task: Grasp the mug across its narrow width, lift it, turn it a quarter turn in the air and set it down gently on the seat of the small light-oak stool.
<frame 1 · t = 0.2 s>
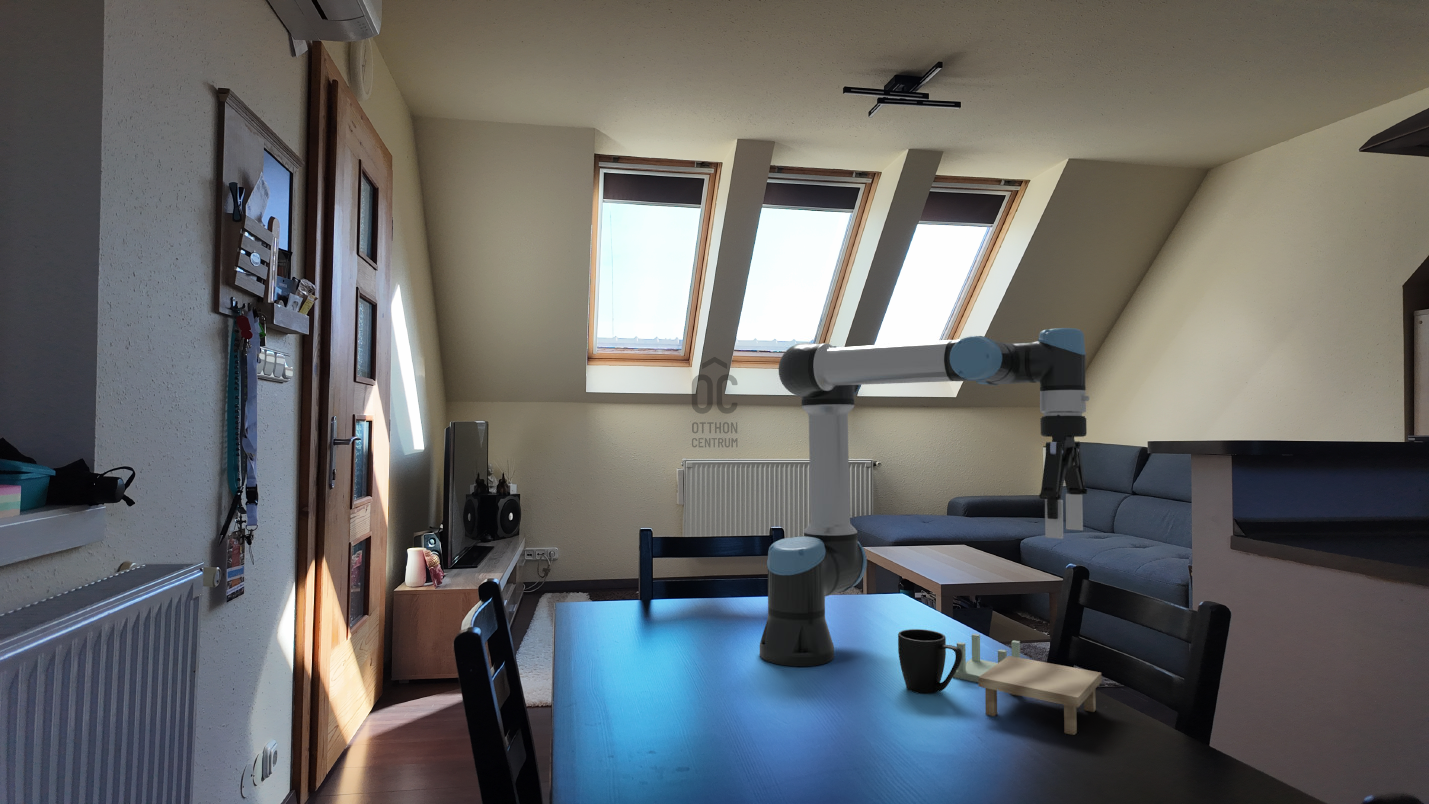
hand: (1064, 533, 136), 28 cm above the table, fingers open, 13 cm apart
oak stool: (1041, 711, 124), on the table
mug: (930, 692, 134), on the table
upturned footstool: (988, 675, 143), on the table
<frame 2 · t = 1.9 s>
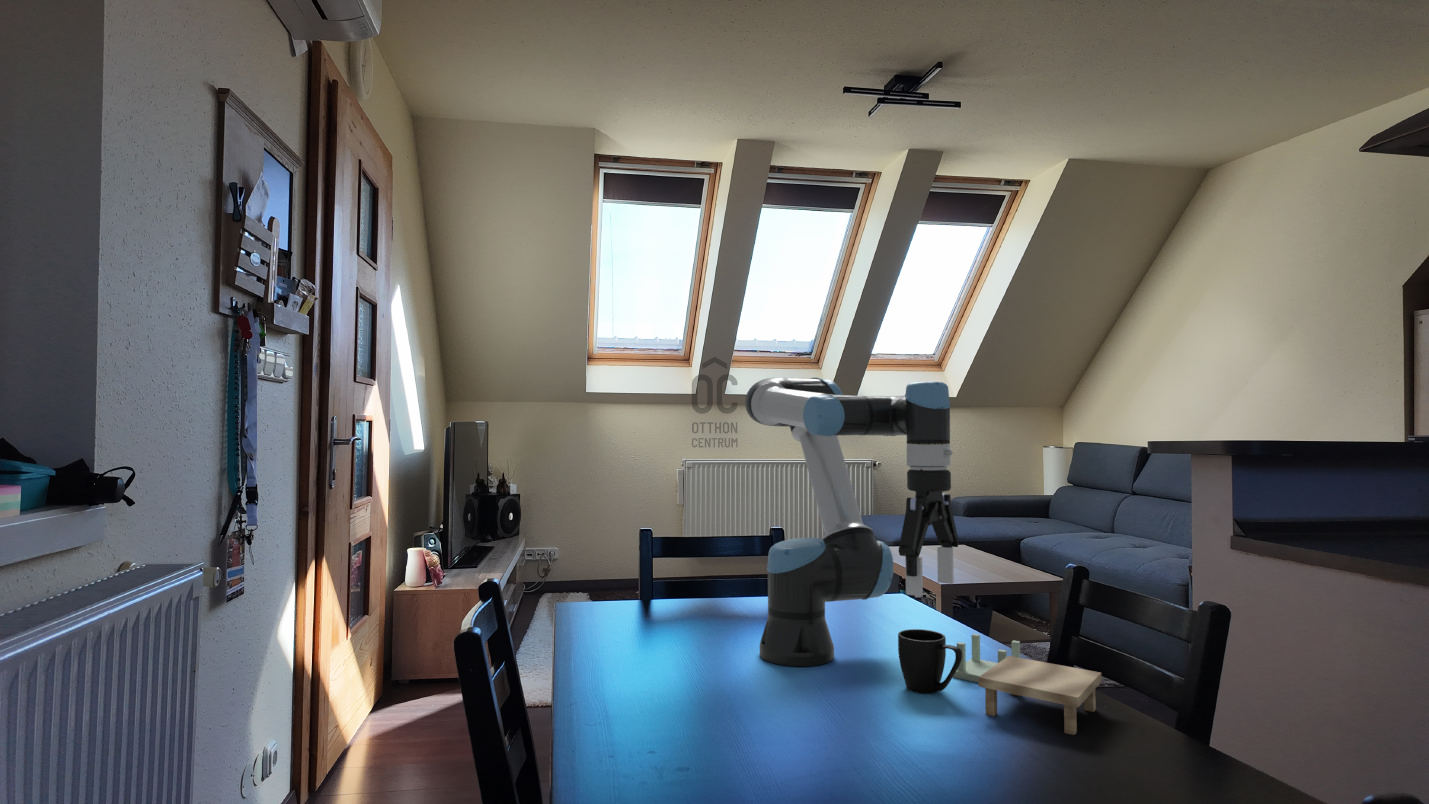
hand: (930, 588, 134), 18 cm above the table, fingers open, 13 cm apart
nothing on the table moved.
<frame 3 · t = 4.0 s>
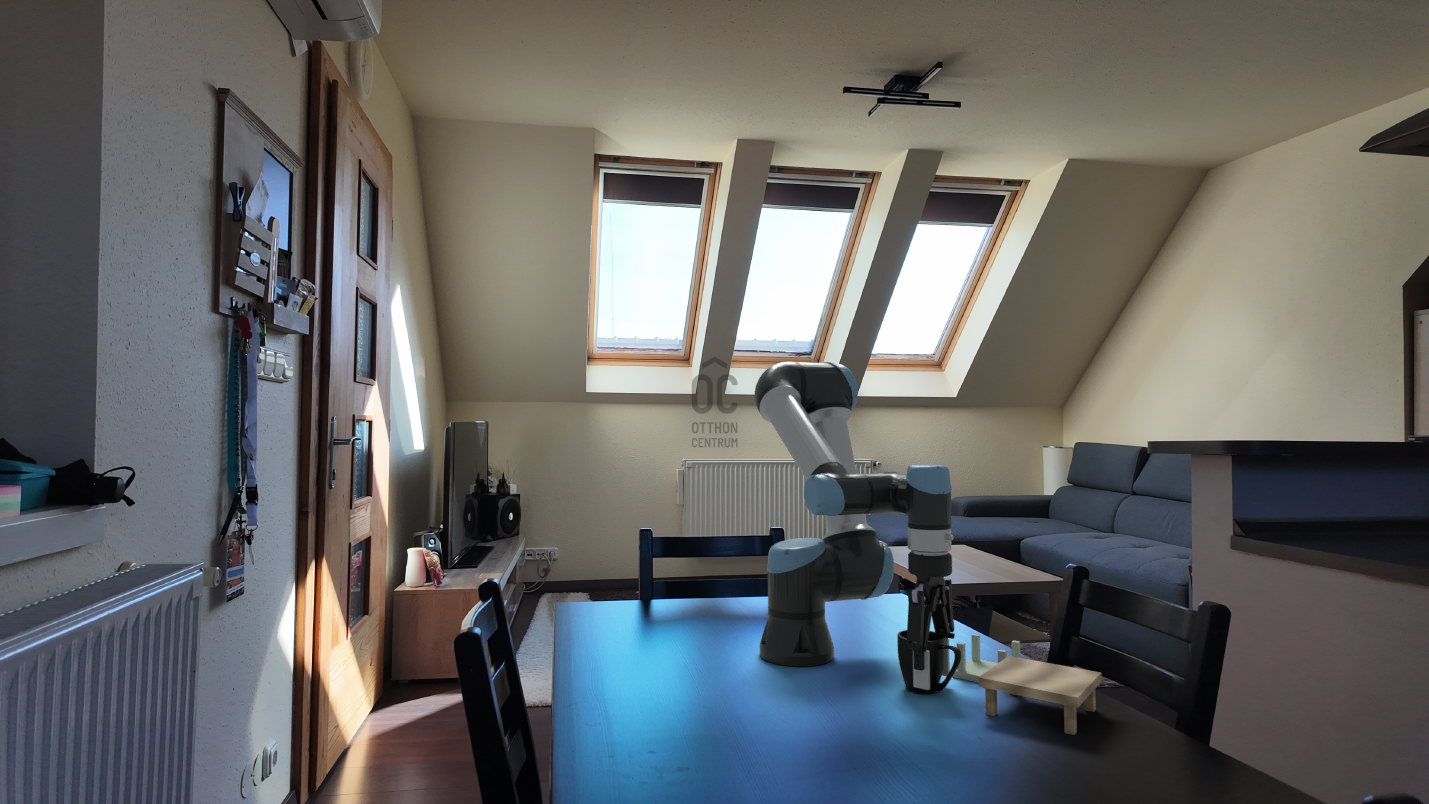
hand: (931, 681, 134), 2 cm above the table, fingers closed on mug, 8 cm apart
mug: (930, 693, 134), on the table, touching gripper
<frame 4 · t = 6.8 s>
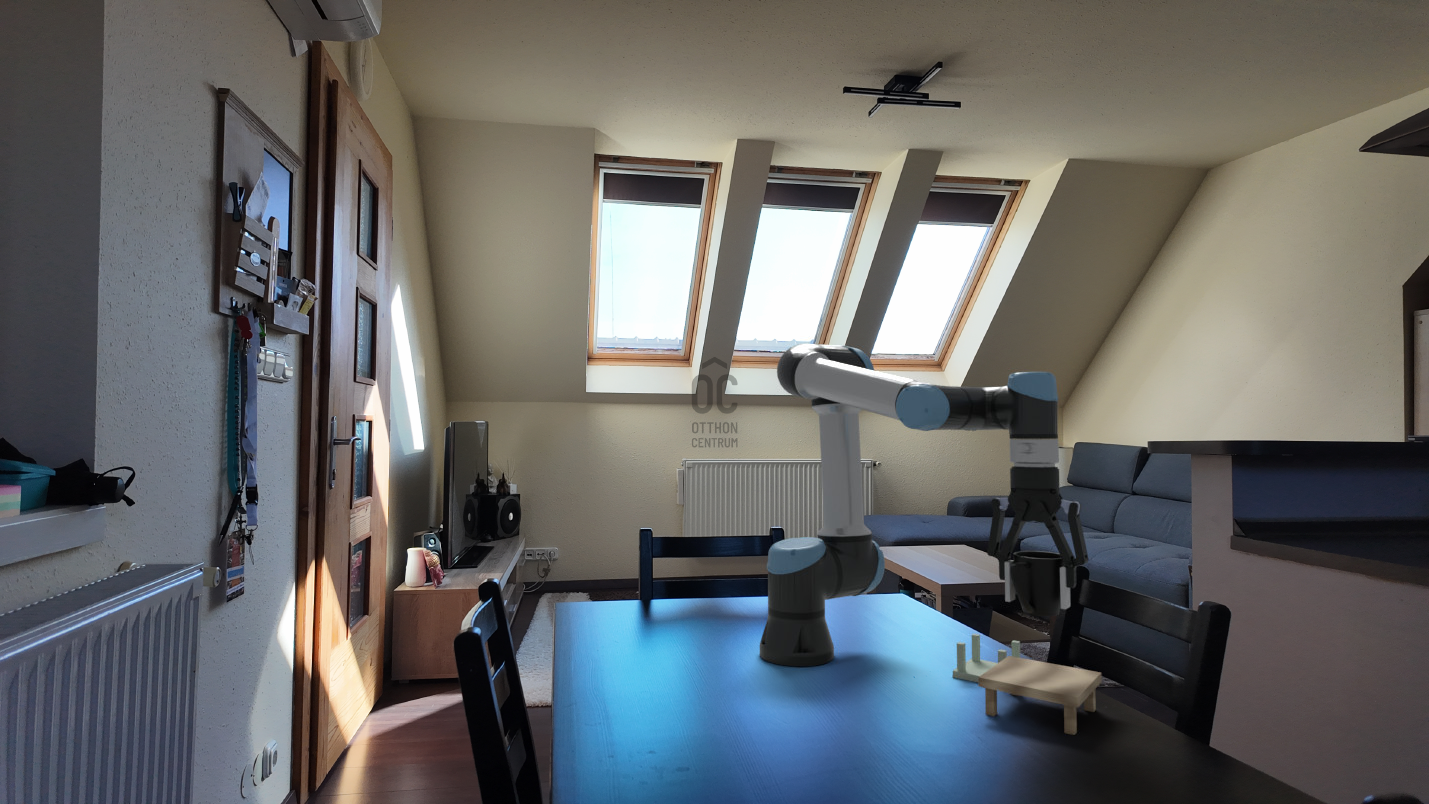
hand: (1037, 603, 125), 18 cm above the table, fingers closed on mug, 8 cm apart
mug: (1034, 615, 125), point 16 cm above the table, touching gripper
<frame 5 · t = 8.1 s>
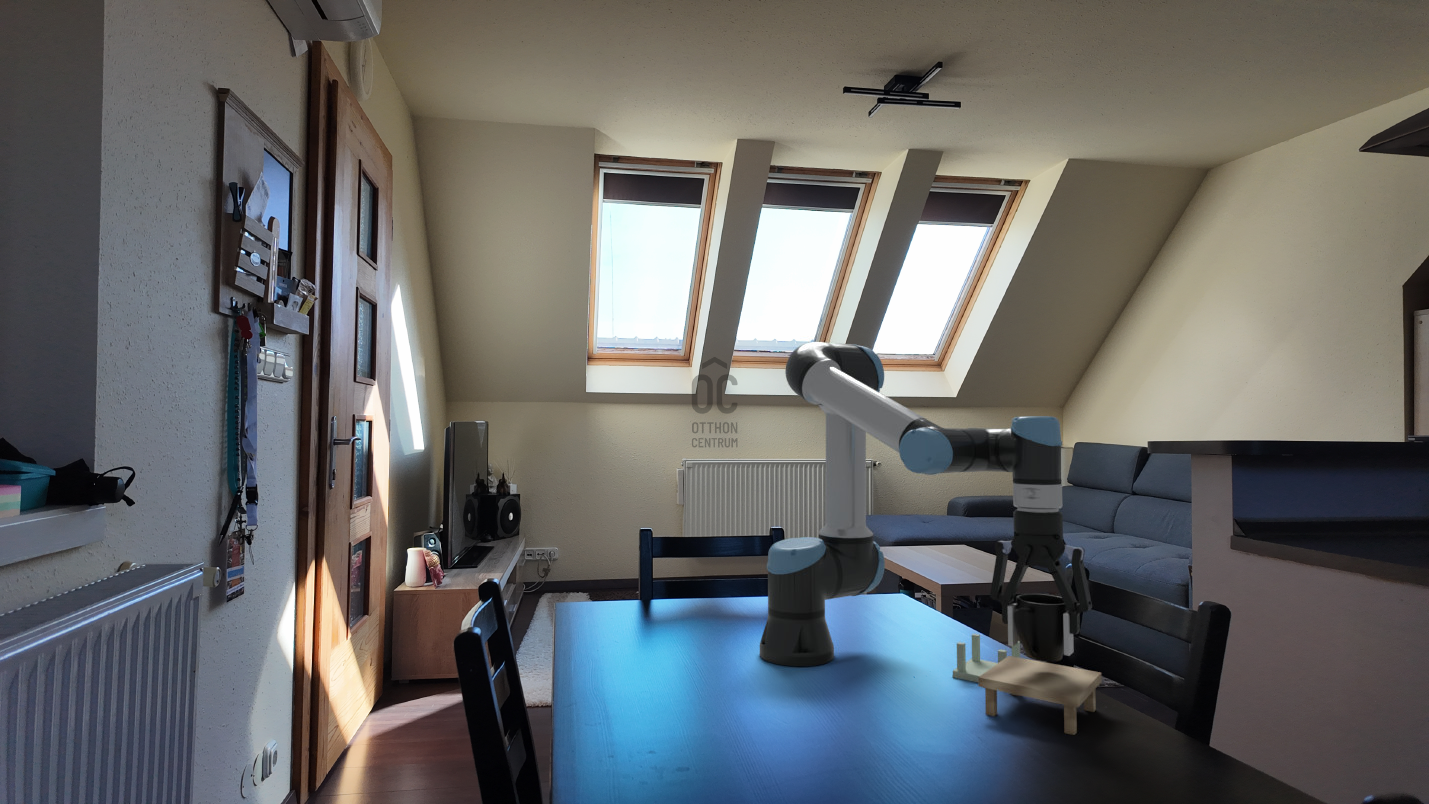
hand: (1040, 648, 125), 10 cm above the table, fingers closed on mug, 8 cm apart
mug: (1037, 659, 125), point 8 cm above the table, touching gripper
when the fingers open (9 cm above the table, at t = 9.3 s): mug stays where it is, resting on oak stool.
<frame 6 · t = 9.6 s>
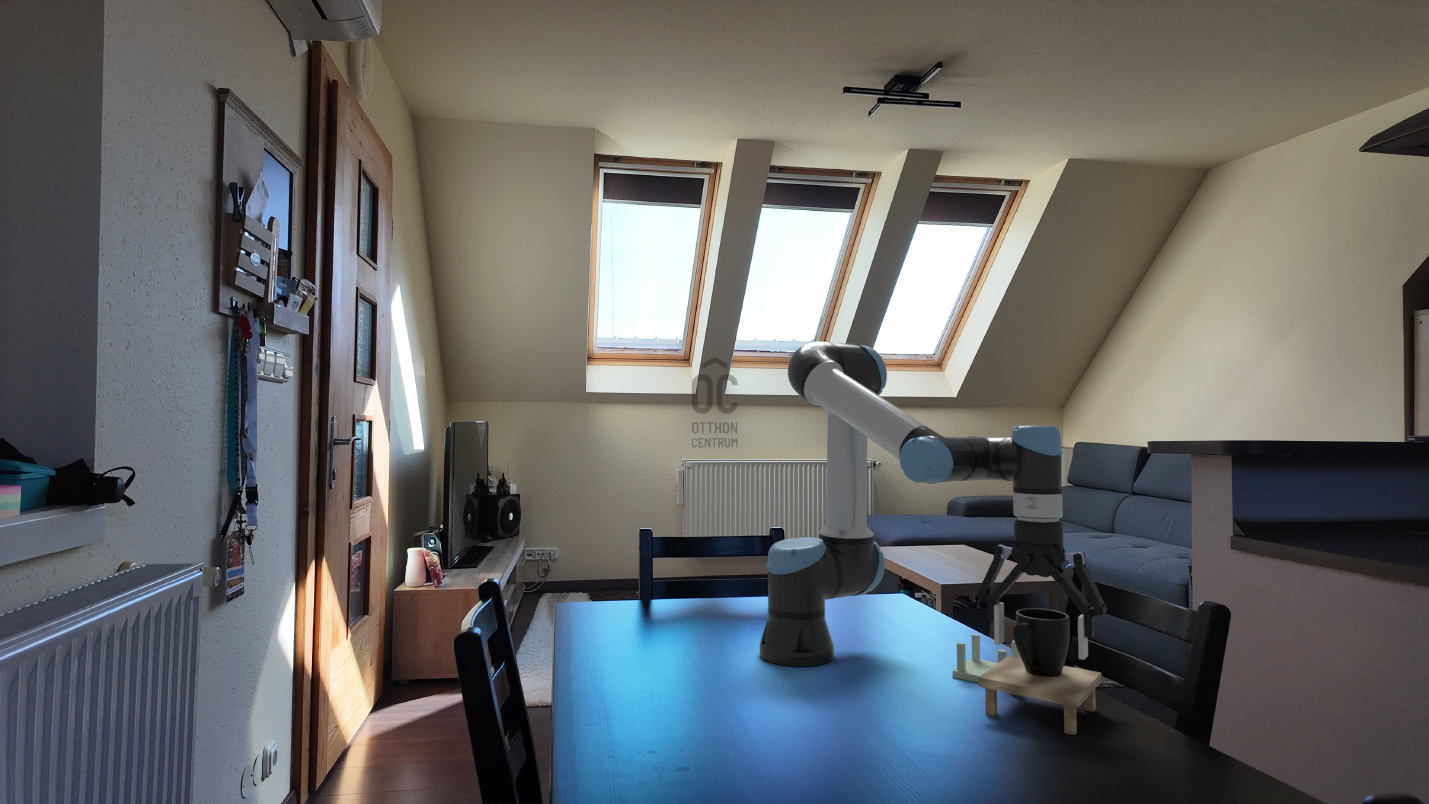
hand: (1040, 650, 125), 10 cm above the table, fingers open, 12 cm apart
mug: (1036, 675, 125), point 6 cm above the table, touching oak stool
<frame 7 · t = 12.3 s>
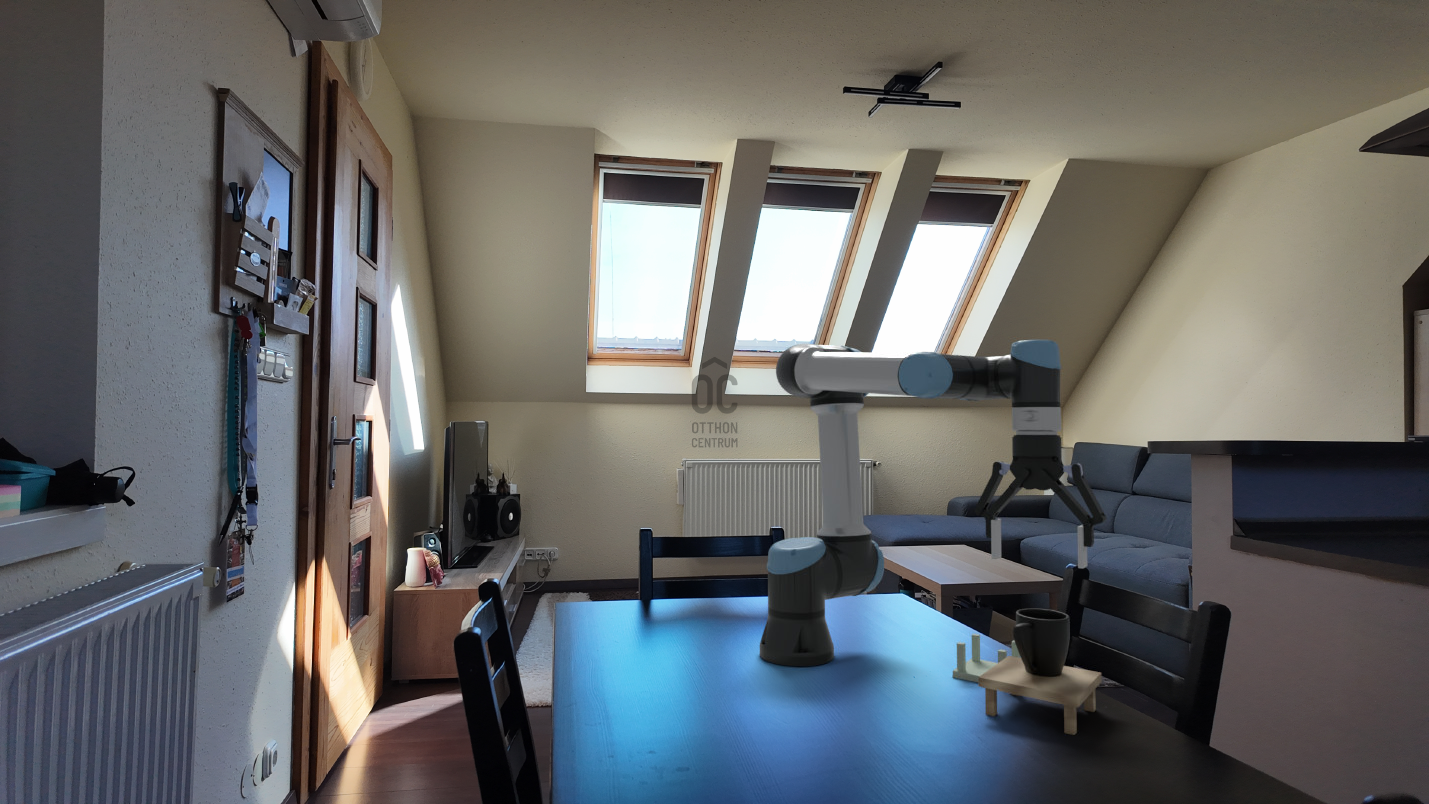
hand: (1038, 562, 125), 24 cm above the table, fingers open, 13 cm apart
nothing on the table moved.
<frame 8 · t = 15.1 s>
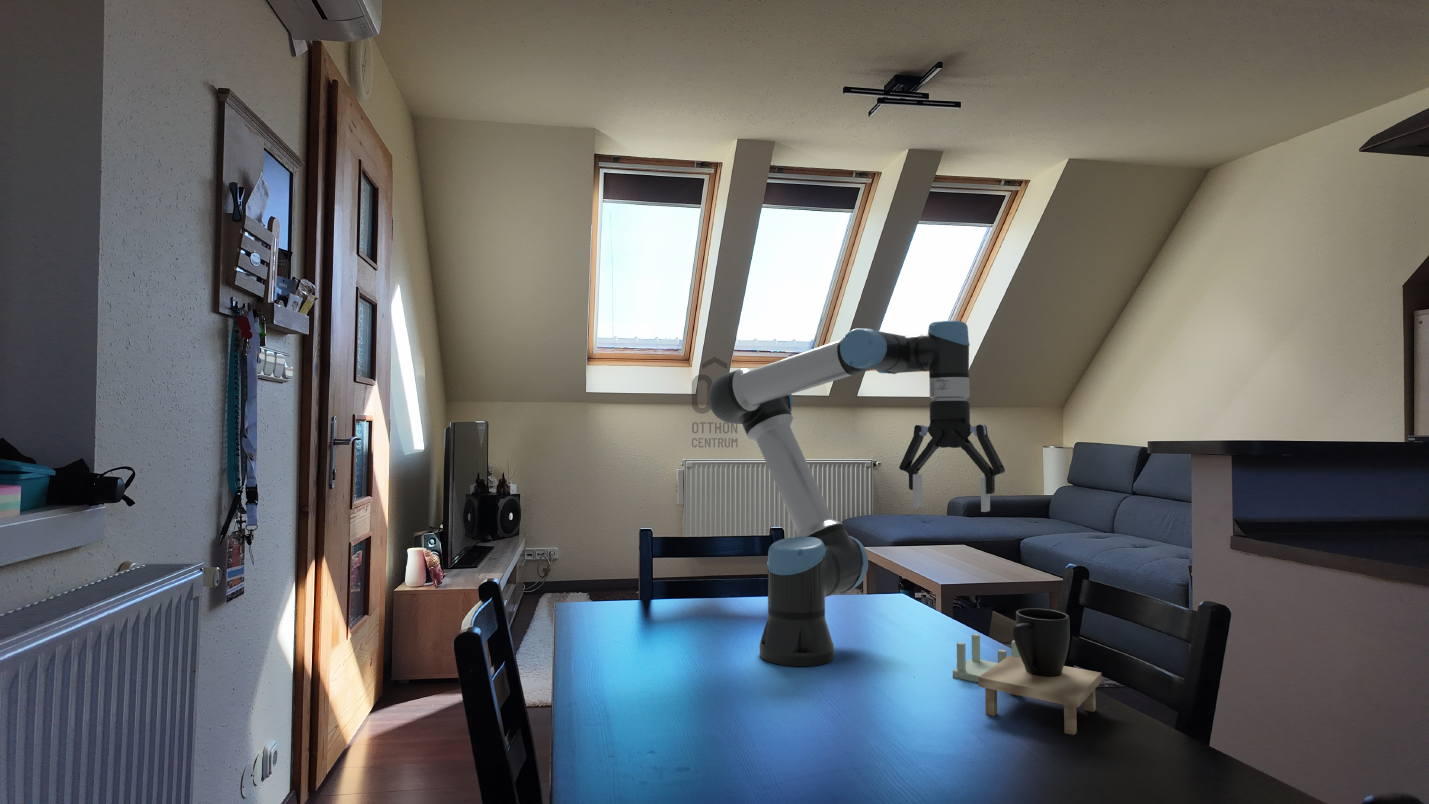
hand: (950, 509, 148), 31 cm above the table, fingers open, 13 cm apart
nothing on the table moved.
at the end: mug inside the target area on the oak stool (0.6 cm from its centre), point 5.8 cm above the oak stool's base; mug tilted 0°; the gripper is holding nothing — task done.
